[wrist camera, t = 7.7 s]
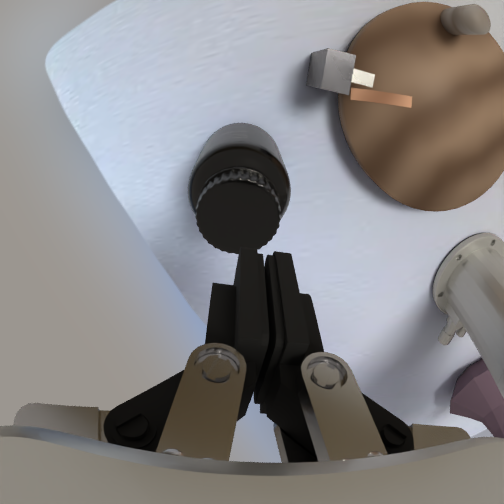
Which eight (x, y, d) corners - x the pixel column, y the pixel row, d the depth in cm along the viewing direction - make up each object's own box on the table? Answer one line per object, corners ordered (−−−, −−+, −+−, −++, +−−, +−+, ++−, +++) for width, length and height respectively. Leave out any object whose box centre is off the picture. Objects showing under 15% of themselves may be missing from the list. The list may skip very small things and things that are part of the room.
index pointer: (346, 94, 25) (369, 100, 20) (306, 85, 24) (320, 88, 19) (352, 62, 23) (377, 61, 18) (311, 52, 23) (327, 48, 18)
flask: (514, 359, 47) (551, 431, 30) (455, 404, 54) (482, 478, 37) (498, 331, 42) (549, 420, 25) (427, 386, 48) (460, 479, 31)
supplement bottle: (195, 184, 29) (165, 253, 19) (213, 113, 26) (188, 142, 15) (266, 202, 30) (275, 279, 20) (290, 134, 27) (317, 178, 17)
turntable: (526, 141, 24) (560, 159, 19) (405, 238, 31) (429, 270, 26) (448, -23, 16) (484, -33, 11) (289, 74, 23) (300, 74, 18)
